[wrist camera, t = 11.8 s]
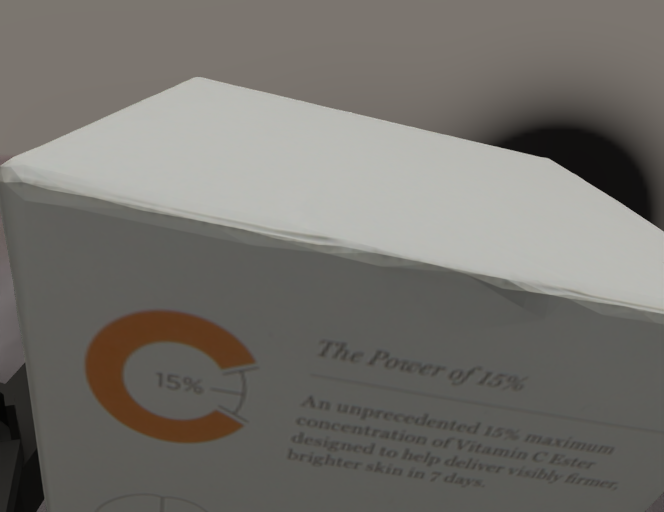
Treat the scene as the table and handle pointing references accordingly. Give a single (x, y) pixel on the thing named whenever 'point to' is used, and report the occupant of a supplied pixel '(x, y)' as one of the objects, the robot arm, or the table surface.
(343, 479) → the small box
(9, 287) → the table surface
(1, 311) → the table surface
